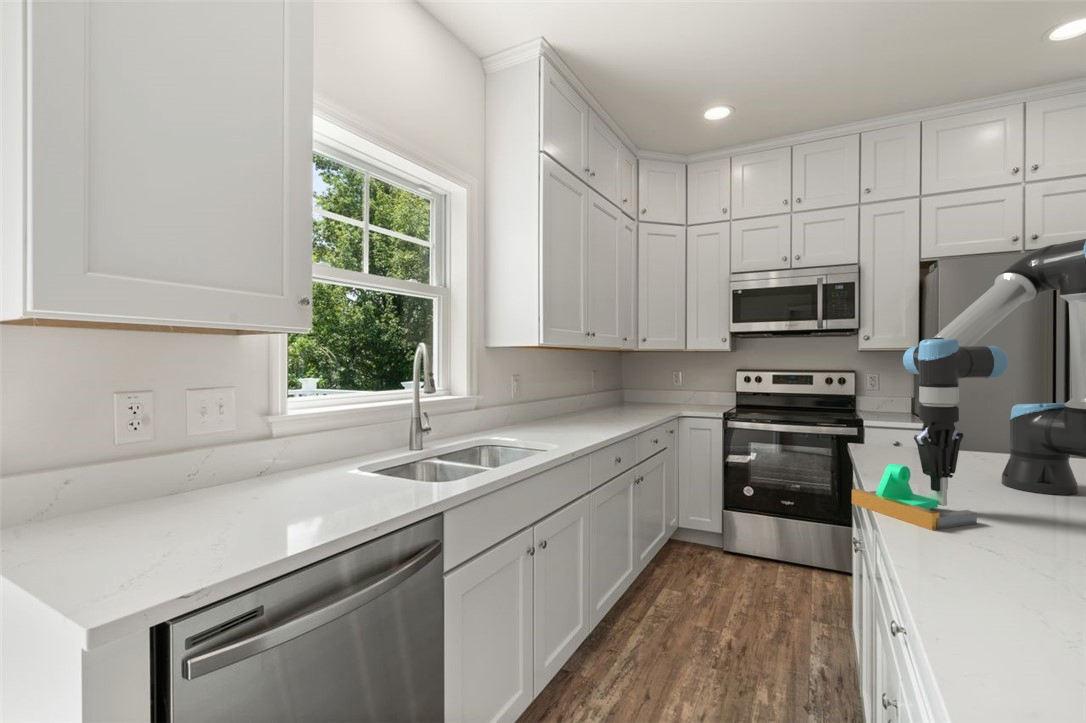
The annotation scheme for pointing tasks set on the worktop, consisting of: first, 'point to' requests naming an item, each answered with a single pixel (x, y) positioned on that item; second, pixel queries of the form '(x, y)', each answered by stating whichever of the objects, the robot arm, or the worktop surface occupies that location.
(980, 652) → the worktop surface
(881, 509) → the dock
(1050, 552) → the worktop surface
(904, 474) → the camera mount
